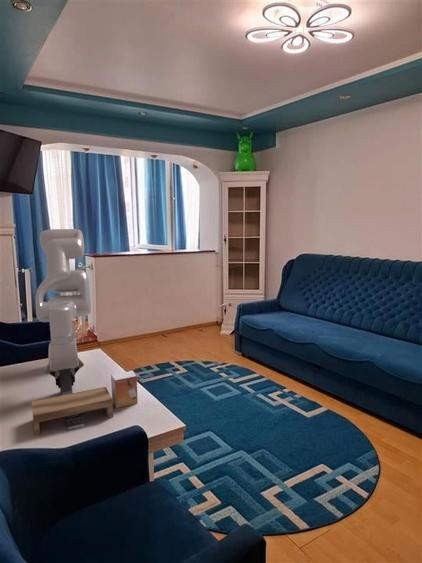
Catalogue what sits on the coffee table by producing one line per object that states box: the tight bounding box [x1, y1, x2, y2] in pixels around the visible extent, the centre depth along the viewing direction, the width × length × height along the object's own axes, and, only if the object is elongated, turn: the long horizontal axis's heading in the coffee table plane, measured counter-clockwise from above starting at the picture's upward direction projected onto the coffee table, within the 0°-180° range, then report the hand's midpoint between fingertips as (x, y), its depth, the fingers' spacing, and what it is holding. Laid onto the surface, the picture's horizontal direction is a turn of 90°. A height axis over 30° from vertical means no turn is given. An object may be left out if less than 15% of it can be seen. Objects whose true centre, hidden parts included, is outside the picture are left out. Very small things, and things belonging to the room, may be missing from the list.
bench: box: [31, 386, 114, 436], centre depth 130 cm, size 10×24×6 cm, turn 116°
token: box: [65, 416, 85, 432], centre depth 127 cm, size 5×5×2 cm
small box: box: [110, 370, 138, 409], centre depth 140 cm, size 8×6×10 cm
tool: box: [59, 368, 80, 419], centre depth 140 cm, size 22×4×10 cm, turn 26°
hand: (65, 385), depth 148 cm, fingers closed on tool, 4 cm apart
